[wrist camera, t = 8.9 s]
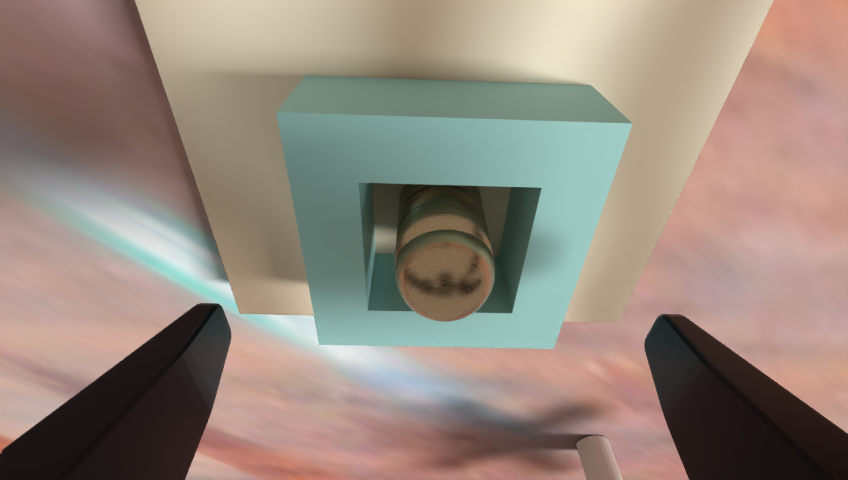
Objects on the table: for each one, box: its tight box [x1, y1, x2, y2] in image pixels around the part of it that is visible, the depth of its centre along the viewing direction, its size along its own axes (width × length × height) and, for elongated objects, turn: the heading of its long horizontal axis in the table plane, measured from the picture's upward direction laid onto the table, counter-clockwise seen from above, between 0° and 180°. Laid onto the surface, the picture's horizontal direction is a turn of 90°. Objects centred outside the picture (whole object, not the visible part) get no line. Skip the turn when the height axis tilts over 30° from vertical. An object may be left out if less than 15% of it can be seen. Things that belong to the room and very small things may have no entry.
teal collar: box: [276, 76, 633, 349], centre depth 11 cm, size 7×7×2 cm
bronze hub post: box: [394, 184, 496, 322], centre depth 11 cm, size 2×2×4 cm
